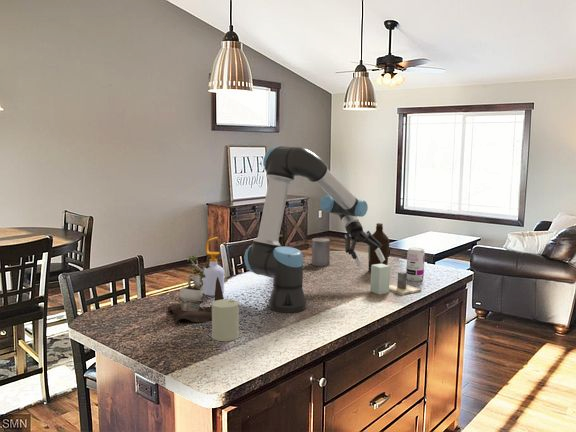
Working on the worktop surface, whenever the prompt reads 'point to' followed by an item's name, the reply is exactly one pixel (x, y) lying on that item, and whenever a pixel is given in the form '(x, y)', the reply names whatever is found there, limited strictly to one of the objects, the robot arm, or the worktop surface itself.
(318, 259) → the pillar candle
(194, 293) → the potted plant
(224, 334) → the can
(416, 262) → the supplement can
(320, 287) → the worktop surface
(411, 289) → the post base
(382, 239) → the olive oil
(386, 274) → the tall mint green block
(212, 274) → the soap bottle
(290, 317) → the worktop surface
